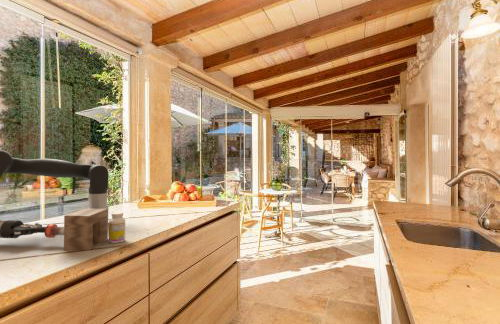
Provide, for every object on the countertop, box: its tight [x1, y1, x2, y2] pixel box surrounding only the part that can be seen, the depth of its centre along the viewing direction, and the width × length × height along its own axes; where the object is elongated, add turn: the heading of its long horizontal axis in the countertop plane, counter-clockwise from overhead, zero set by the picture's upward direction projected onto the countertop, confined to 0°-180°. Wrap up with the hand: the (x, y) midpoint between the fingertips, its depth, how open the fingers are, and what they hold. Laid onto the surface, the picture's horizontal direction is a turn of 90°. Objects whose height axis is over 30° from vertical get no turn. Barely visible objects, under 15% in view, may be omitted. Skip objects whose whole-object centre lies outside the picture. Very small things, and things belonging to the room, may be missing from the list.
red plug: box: [44, 223, 64, 239], centre depth 120 cm, size 14×6×6 cm, turn 92°
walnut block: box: [63, 207, 109, 251], centre depth 122 cm, size 12×16×14 cm
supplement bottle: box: [108, 211, 126, 244], centre depth 127 cm, size 7×7×13 cm
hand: (47, 229), depth 120 cm, fingers closed
